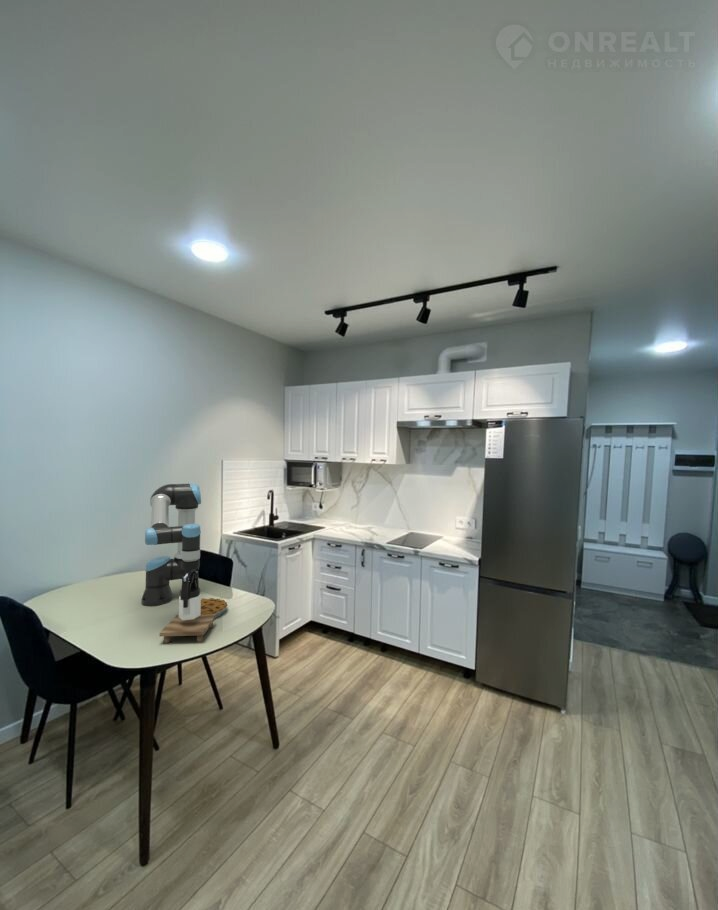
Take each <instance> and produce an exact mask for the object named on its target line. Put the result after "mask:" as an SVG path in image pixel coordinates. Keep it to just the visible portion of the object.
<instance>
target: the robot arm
mask: <svg viewBox="0 0 718 910" xmlns="http://www.w3.org/2000/svg"><path fill="white" fill-rule="evenodd" d="M149 503H150V504H149V505H150V507H151V517H150V518H151V519H150V528H145V533H144V537H145V538H144V543H145V545H147V546H153V545H154V546H158V545H166V544H177V552H176V553H175V554H174V557H173V558H171V556H169V555H167V556H165V555H164V556H163V555H162V556H157V557H154V558H152V559H149V560H148V561H147V562H146V563H145V589H144V591H143V594H142V597H141V601H140V602H141V605H142V606H146V607H155V606H161V605H165V604H168V603H170V602H171V601H172V600H173V598H174V597H173V595H174V594H173V592H172V589H171V586H170V585H171V584H170V581H177V580H181V589H180V590H181V600H183V615H189V614H190V599H189V596H190V589H191V587H199V588H200V586H199V585H200V584H199V570H200V565H201V559H200V558H201V525H200V524H199V523H198V524H197V523H196V510H198V509H199V505H201V504H202V498H201V490H200V486H199V484H198V483H174V484H173V483H169V484H165V485H162V486H159V487H158V488H156V490H155V491H154V492H153V493H152V494H151V497H150V501H149ZM170 506H174V507H175V510H177V511H178V517H177V519H178V520H177V526H169V523H170V521H169V516H170V515H169V513H170V512H169V511H170V509H169V508H170Z"/></svg>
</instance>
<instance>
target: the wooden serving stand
mask: <svg viewBox="0 0 718 910" xmlns="http://www.w3.org/2000/svg"><path fill="white" fill-rule="evenodd" d="M215 620H216V614H201V615H200V616H198V617H197V618H195V619H192V620H182V619H180V618H179V614H177V615H175V616H174V618H172V619H171V621H170V622H168V624H167V625H166V626H165V627H164V628H163V629H161V631H160V632H159V635H158V636H159V637H163V644H168V643H171V637H185V636H186V637H187V636H196V643H202V642H203V640H204V635H205V634H206V633H207V631H208V630H209V629H212V628H213V627H214V621H215Z"/></svg>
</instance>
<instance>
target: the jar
mask: <svg viewBox="0 0 718 910" xmlns="http://www.w3.org/2000/svg"><path fill="white" fill-rule="evenodd" d="M189 599H190V614H189V615H183V600H181V589H180V591H179V597H178V615H179V618H180V619H182V620H192V619H195V618H197V617H198V616H200V615H201V599H202V594H201V588H200V586H199V587H191V589H190V596H189Z"/></svg>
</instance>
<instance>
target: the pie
mask: <svg viewBox="0 0 718 910" xmlns="http://www.w3.org/2000/svg"><path fill="white" fill-rule="evenodd" d="M227 607H228V602H227V601H225V600H224V599H221V598H214V597H213V598H212V597H209V598H203V597H201V614H216V618H219V617H221V616H222V615H223V614H224V612H226V609H227ZM216 618H215V619H216Z"/></svg>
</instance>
